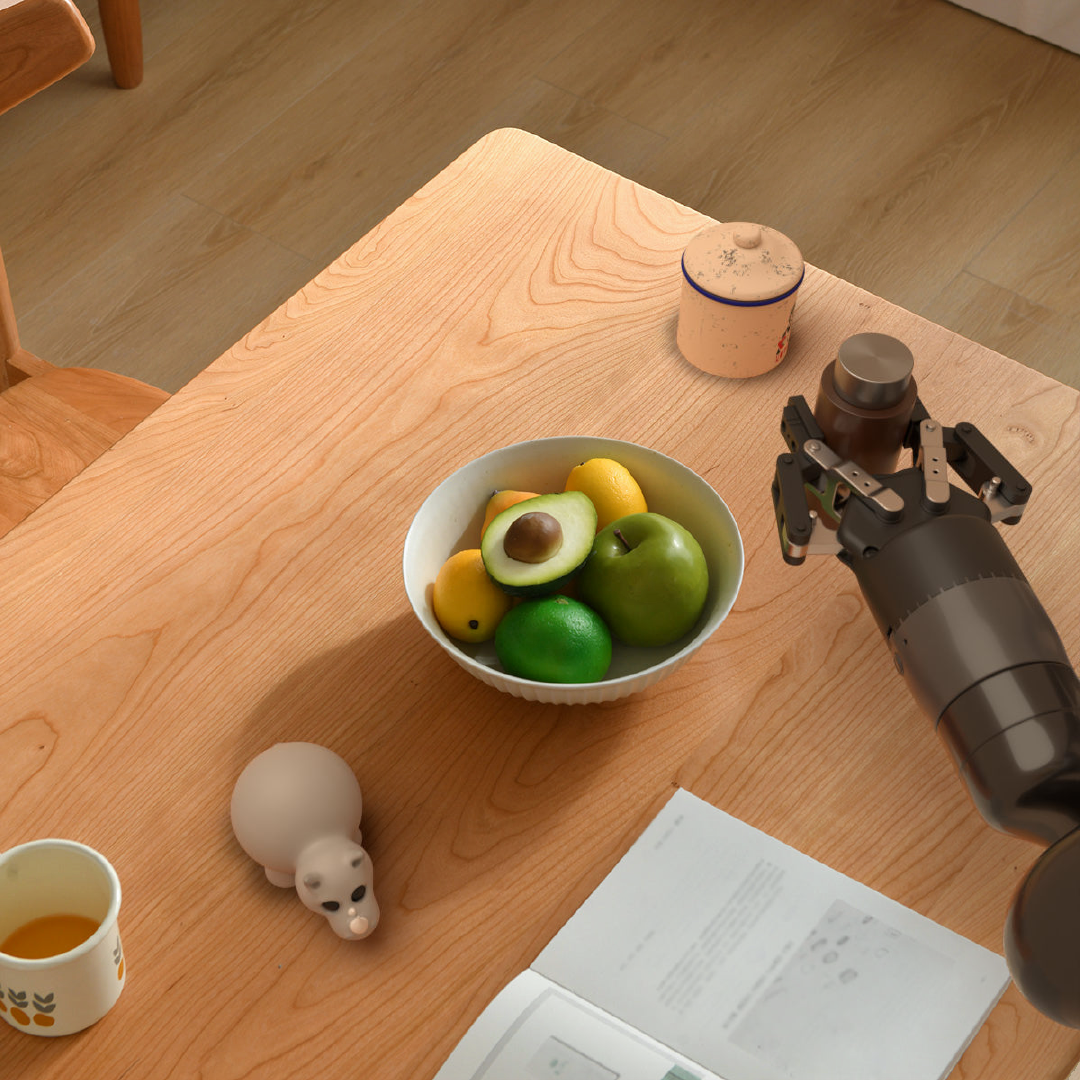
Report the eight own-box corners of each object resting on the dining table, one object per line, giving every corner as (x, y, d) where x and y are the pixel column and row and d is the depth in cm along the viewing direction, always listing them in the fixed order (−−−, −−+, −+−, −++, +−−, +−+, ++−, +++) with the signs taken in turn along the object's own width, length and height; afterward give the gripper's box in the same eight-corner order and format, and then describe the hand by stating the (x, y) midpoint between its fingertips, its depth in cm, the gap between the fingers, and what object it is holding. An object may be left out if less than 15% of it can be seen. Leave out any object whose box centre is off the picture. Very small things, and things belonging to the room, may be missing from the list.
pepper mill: (859, 479, 84) (902, 317, 74) (892, 541, 81) (942, 382, 71) (780, 493, 83) (812, 332, 73) (810, 557, 80) (848, 397, 70)
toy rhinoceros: (306, 1000, 73) (283, 935, 67) (227, 825, 80) (200, 750, 73) (426, 939, 76) (415, 869, 69) (339, 773, 82) (322, 696, 76)
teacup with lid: (800, 386, 104) (825, 264, 95) (684, 395, 103) (698, 274, 94) (766, 285, 112) (785, 165, 103) (657, 294, 111) (667, 173, 102)
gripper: (1122, 556, 65) (971, 328, 76) (842, 611, 63) (727, 369, 74) (1075, 646, 71) (941, 423, 82) (817, 700, 69) (714, 463, 80)
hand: (840, 398), depth 78 cm, fingers closed on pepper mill, 5 cm apart
